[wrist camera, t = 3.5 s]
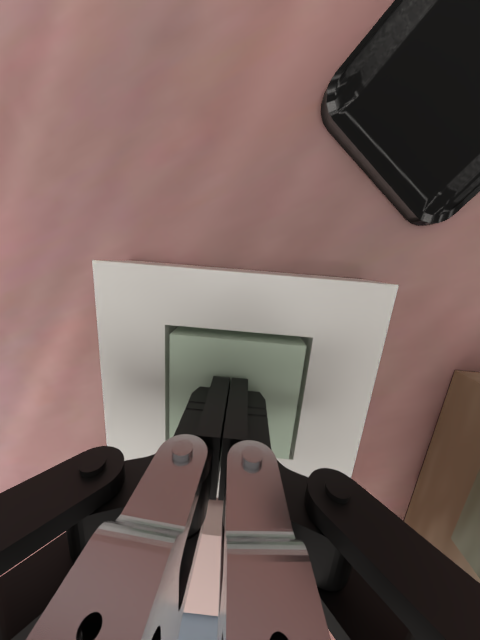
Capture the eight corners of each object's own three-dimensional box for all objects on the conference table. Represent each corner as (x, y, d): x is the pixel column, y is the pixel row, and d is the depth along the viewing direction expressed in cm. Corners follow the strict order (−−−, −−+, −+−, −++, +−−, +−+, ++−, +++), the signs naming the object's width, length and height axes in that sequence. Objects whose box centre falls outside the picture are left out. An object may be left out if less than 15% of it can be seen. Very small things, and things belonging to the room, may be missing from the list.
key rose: (276, 486, 13) (283, 542, 11) (266, 557, 15) (269, 622, 12) (178, 476, 13) (160, 529, 11) (177, 547, 15) (161, 609, 12)
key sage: (294, 327, 12) (306, 346, 9) (281, 420, 13) (288, 459, 11) (186, 318, 12) (169, 334, 10) (185, 411, 14) (169, 447, 11)
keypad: (362, 278, 12) (398, 285, 9) (288, 635, 19) (295, 702, 16) (130, 260, 12) (91, 260, 9) (144, 618, 19) (125, 681, 17)
